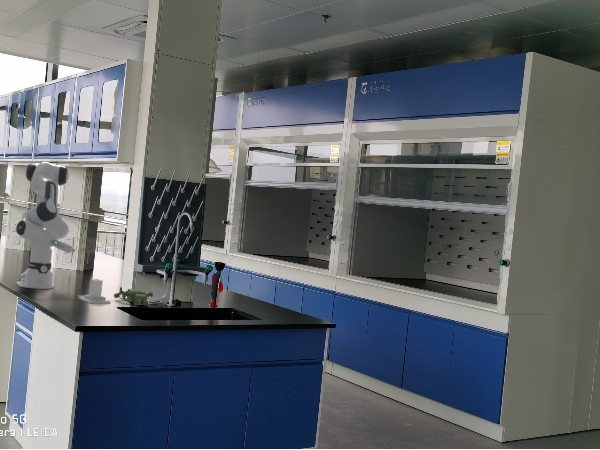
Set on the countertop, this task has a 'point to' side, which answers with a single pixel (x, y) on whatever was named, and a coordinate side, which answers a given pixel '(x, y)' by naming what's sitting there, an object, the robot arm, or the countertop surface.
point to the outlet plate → (94, 299)
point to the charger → (95, 288)
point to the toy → (134, 296)
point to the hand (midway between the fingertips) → (69, 248)
